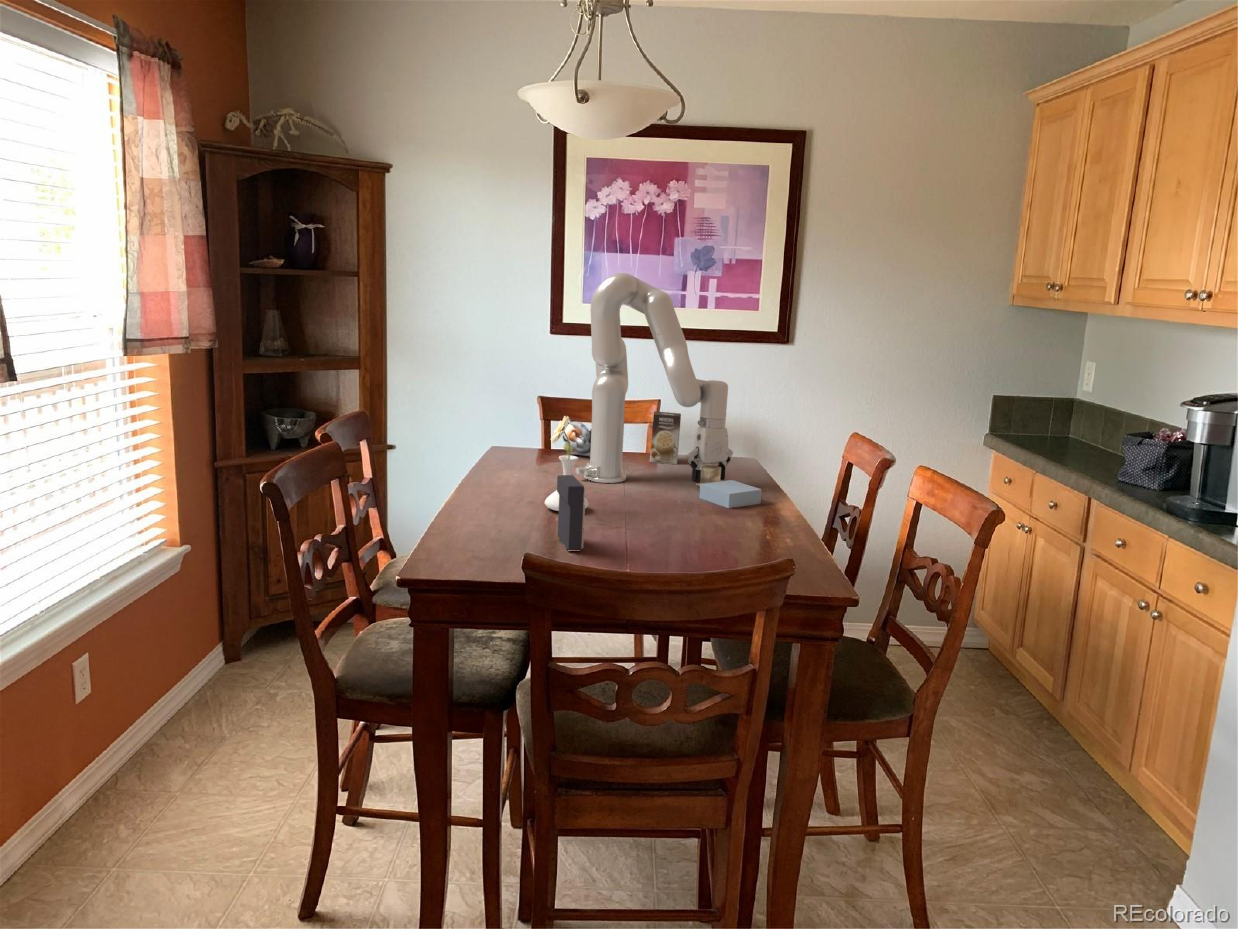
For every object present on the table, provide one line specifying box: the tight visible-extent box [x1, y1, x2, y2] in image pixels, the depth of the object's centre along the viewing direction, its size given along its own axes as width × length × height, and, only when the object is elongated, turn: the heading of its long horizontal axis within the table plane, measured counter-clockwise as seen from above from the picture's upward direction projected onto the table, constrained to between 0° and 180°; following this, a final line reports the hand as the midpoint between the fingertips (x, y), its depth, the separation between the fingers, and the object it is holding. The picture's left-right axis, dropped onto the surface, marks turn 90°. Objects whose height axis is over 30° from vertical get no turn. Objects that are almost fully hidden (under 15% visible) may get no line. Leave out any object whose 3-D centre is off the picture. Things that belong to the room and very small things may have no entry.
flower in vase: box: [544, 415, 590, 512], centre depth 231 cm, size 13×11×25 cm
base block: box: [698, 479, 763, 509], centre depth 252 cm, size 12×12×4 cm
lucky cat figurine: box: [562, 419, 592, 457], centre depth 301 cm, size 15×12×14 cm
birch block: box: [695, 463, 721, 487], centre depth 268 cm, size 5×5×6 cm
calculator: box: [556, 474, 586, 551], centre depth 204 cm, size 11×4×15 cm, turn 17°
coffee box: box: [649, 411, 682, 465], centre depth 297 cm, size 9×6×16 cm
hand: (708, 480), depth 268 cm, fingers open, 9 cm apart
